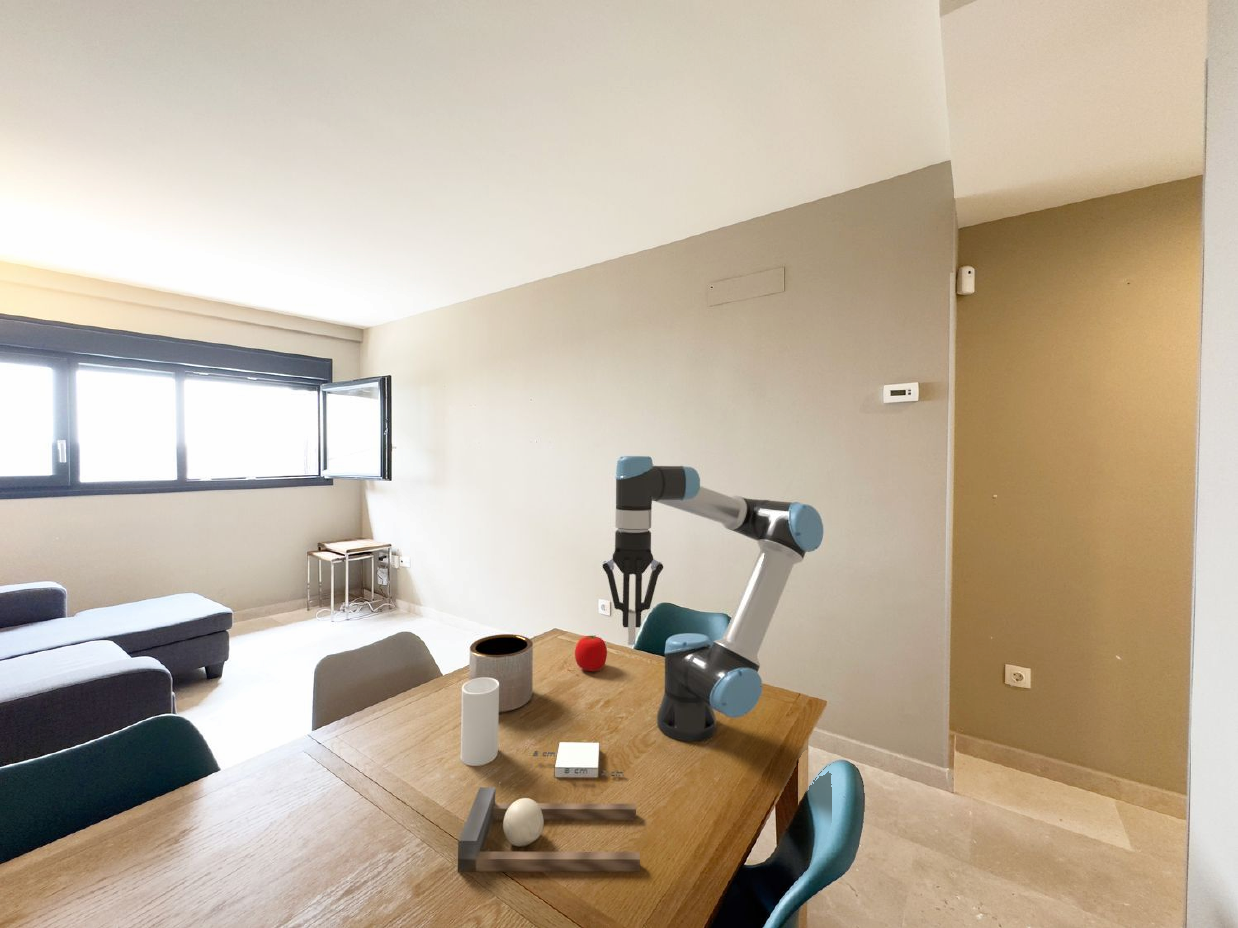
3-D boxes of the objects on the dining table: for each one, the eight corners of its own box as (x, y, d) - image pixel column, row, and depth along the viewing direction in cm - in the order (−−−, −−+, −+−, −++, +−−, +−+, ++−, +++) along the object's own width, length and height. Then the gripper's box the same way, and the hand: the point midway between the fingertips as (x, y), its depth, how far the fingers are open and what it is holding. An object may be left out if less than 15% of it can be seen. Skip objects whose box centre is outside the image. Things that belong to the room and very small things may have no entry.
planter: (545, 695, 138) (546, 641, 138) (499, 722, 123) (500, 662, 123) (501, 679, 148) (502, 629, 148) (454, 703, 133) (455, 647, 133)
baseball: (520, 864, 80) (521, 824, 80) (495, 841, 85) (496, 803, 85) (551, 840, 85) (552, 803, 85) (526, 820, 90) (526, 784, 90)
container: (622, 752, 112) (622, 741, 112) (623, 785, 101) (623, 772, 101) (536, 752, 112) (536, 740, 112) (527, 784, 100) (527, 771, 100)
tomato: (594, 678, 150) (595, 644, 150) (568, 670, 156) (569, 637, 156) (613, 667, 159) (613, 634, 159) (587, 659, 164) (588, 628, 164)
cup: (487, 768, 105) (488, 695, 105) (453, 762, 106) (454, 691, 106) (503, 746, 113) (505, 679, 113) (471, 742, 114) (473, 675, 114)
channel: (635, 813, 92) (635, 787, 92) (639, 871, 79) (640, 840, 79) (479, 813, 91) (479, 787, 91) (457, 870, 78) (458, 840, 78)
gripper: (662, 527, 103) (660, 636, 103) (602, 526, 103) (600, 635, 103) (666, 532, 96) (664, 649, 96) (601, 531, 96) (599, 649, 95)
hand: (631, 642), depth 99 cm, fingers closed
